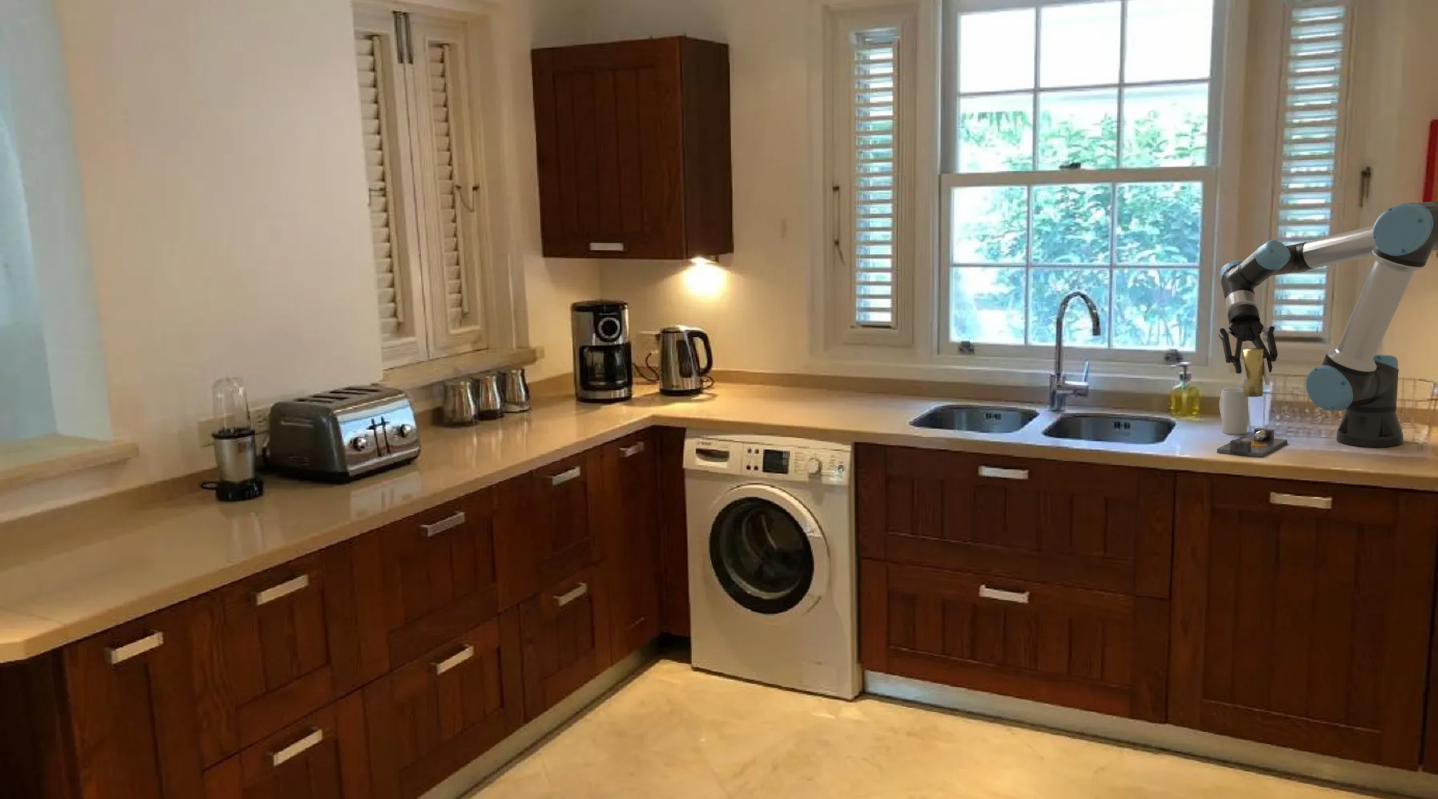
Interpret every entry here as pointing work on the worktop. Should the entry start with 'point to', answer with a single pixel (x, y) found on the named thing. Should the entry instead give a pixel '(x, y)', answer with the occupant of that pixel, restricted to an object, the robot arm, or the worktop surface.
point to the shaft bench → (1254, 444)
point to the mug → (1233, 411)
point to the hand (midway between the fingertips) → (1256, 381)
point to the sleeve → (1253, 372)
